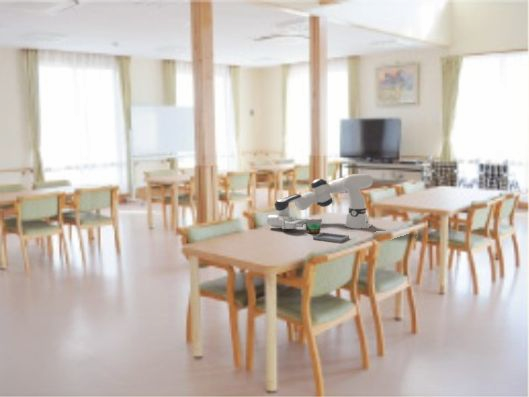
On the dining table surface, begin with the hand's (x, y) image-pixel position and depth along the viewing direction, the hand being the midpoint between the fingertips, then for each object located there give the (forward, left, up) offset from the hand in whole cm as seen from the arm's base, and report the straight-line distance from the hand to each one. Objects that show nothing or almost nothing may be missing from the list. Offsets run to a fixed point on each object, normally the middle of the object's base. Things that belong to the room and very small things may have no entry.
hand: (305, 224), depth 371 cm
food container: (0, +7, -6) cm, 9 cm away
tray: (+10, +24, -5) cm, 26 cm away
